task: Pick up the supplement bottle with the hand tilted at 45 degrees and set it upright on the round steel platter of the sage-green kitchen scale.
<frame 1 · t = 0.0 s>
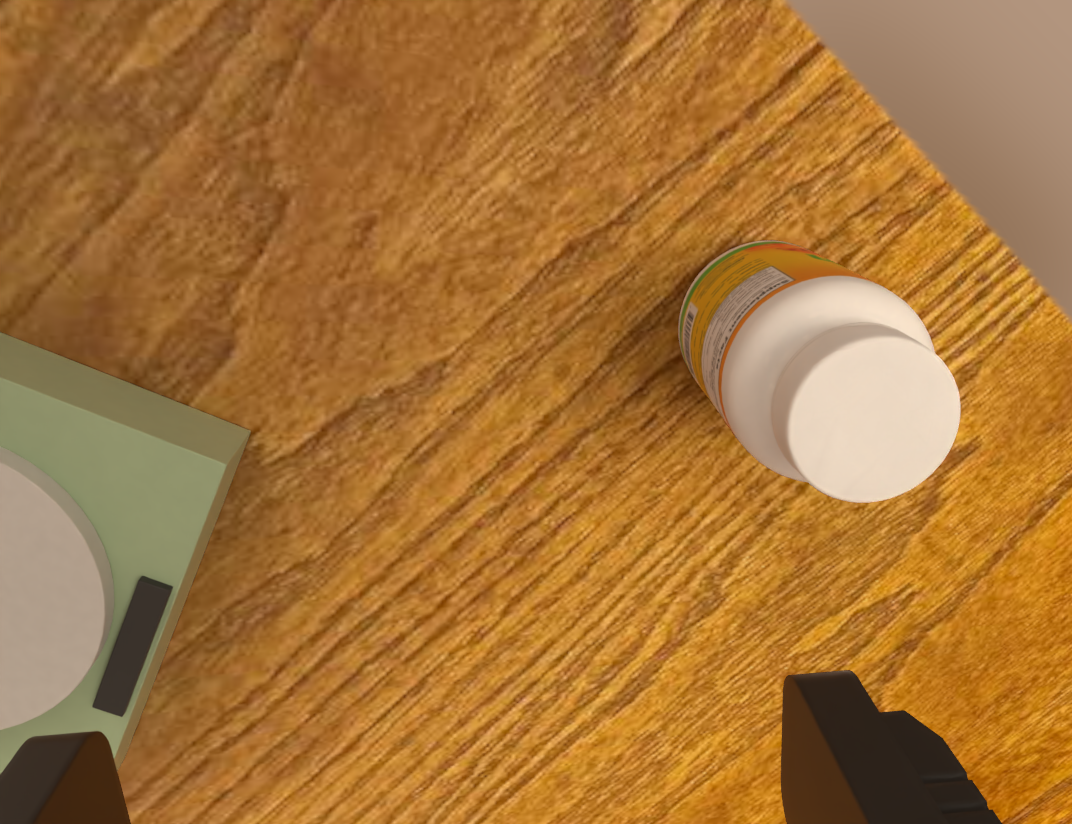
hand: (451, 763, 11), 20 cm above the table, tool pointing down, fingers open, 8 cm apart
supplement bottle: (756, 320, 30), on the table
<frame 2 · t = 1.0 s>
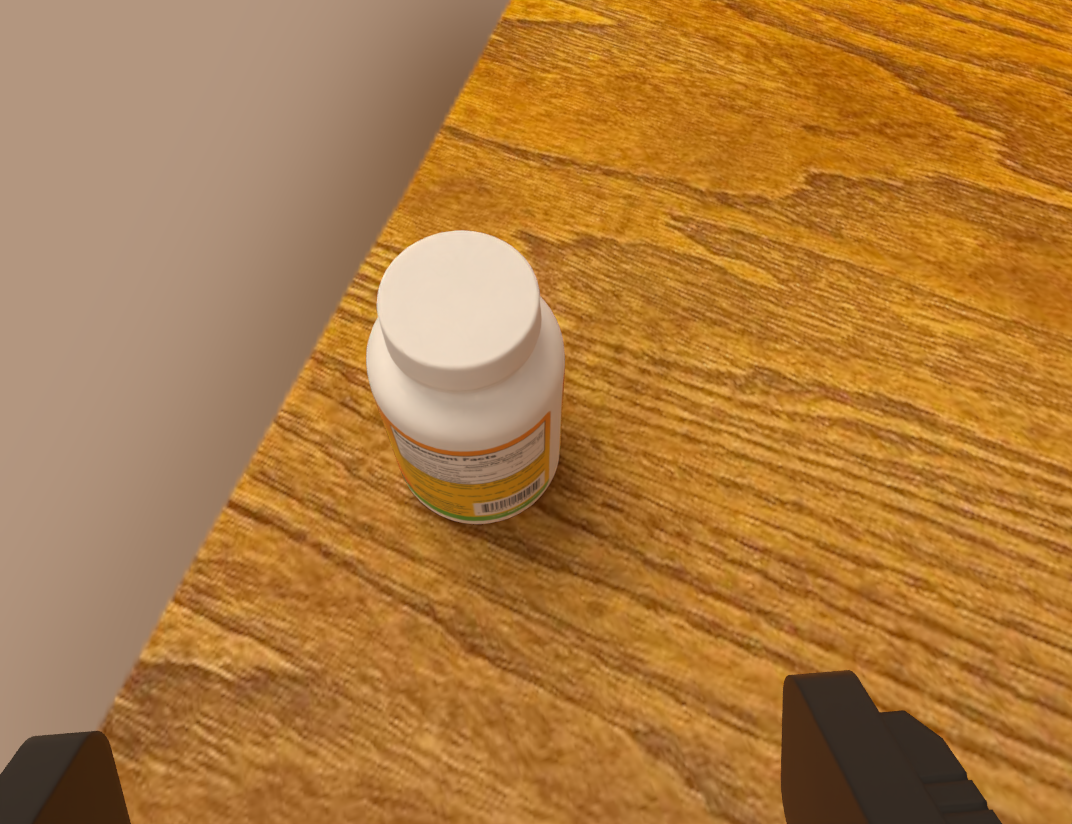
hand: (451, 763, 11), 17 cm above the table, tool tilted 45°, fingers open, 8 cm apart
supplement bottle: (480, 453, 31), on the table
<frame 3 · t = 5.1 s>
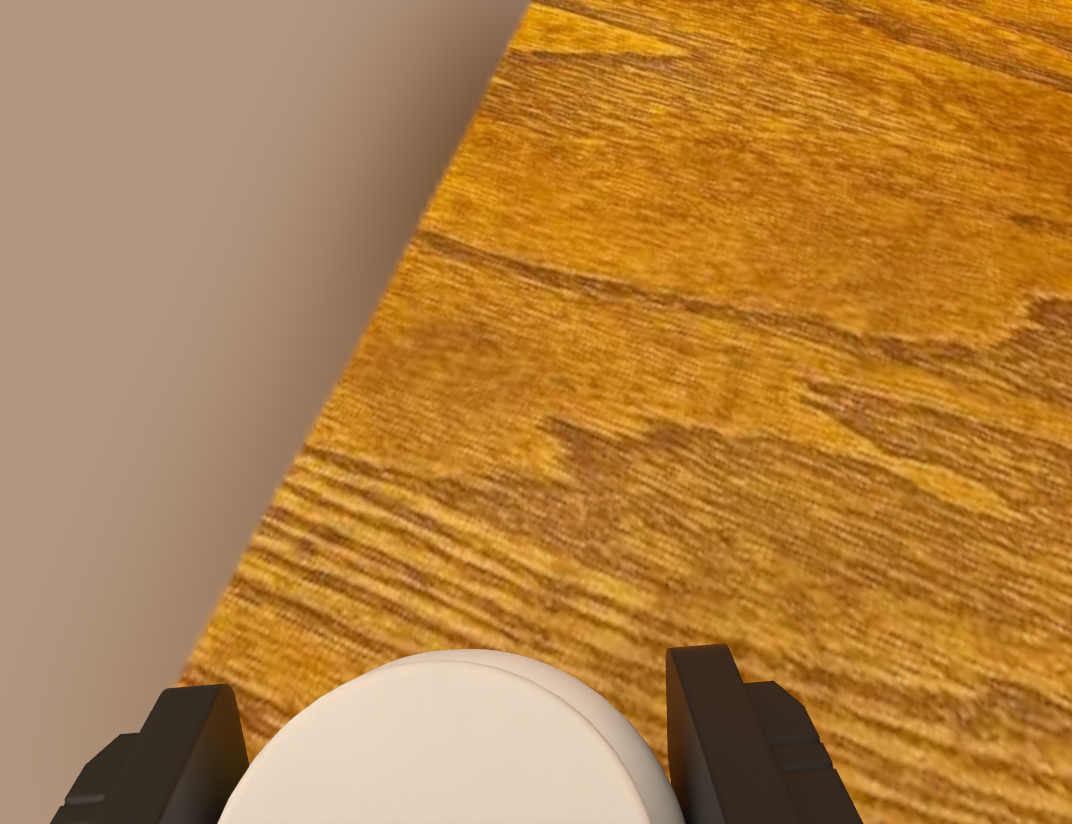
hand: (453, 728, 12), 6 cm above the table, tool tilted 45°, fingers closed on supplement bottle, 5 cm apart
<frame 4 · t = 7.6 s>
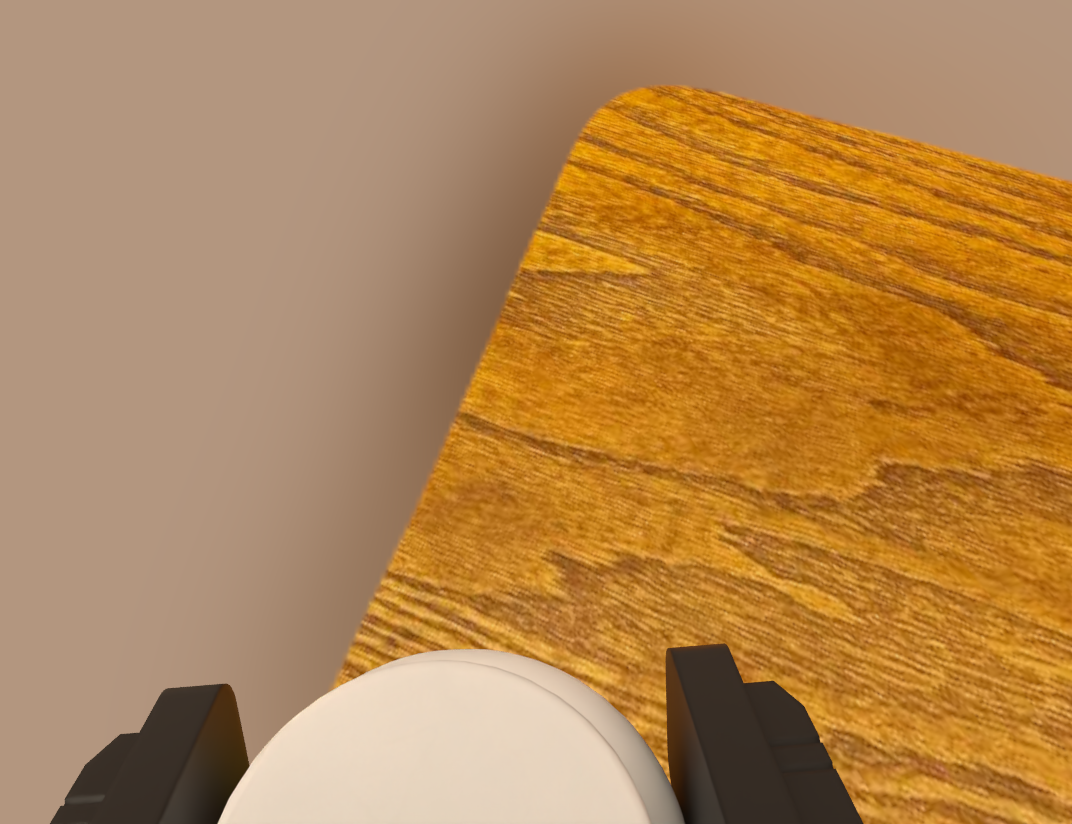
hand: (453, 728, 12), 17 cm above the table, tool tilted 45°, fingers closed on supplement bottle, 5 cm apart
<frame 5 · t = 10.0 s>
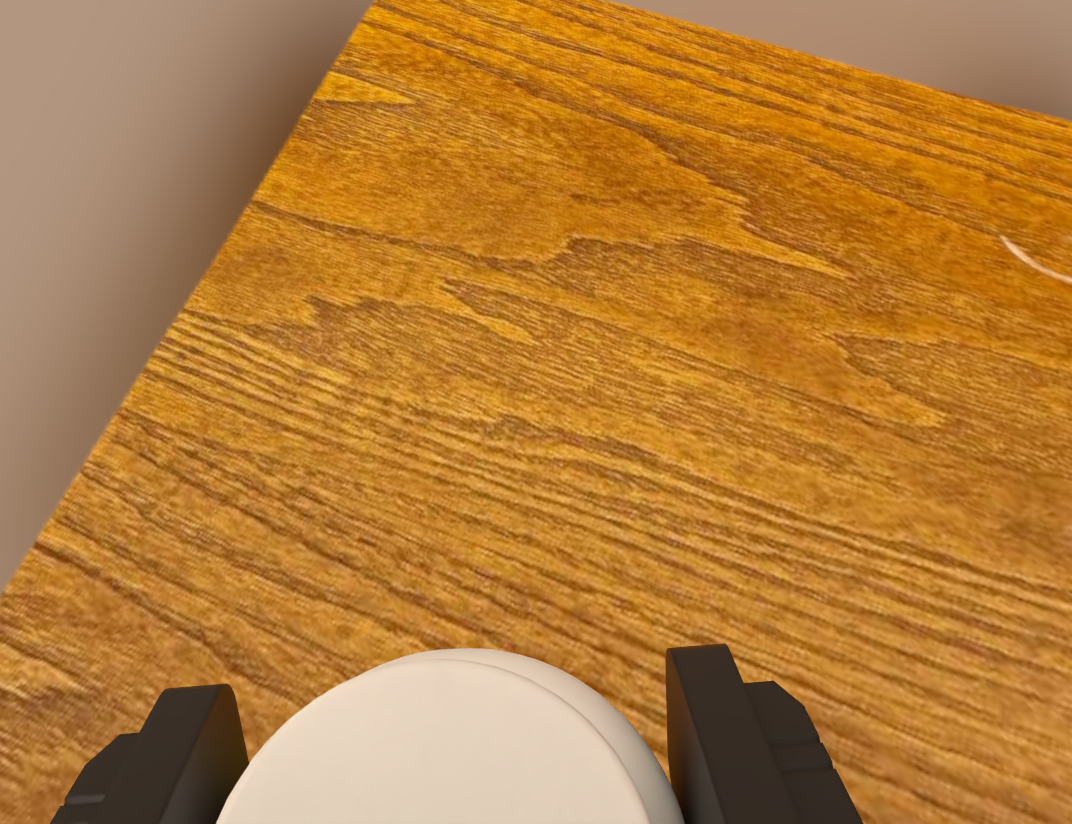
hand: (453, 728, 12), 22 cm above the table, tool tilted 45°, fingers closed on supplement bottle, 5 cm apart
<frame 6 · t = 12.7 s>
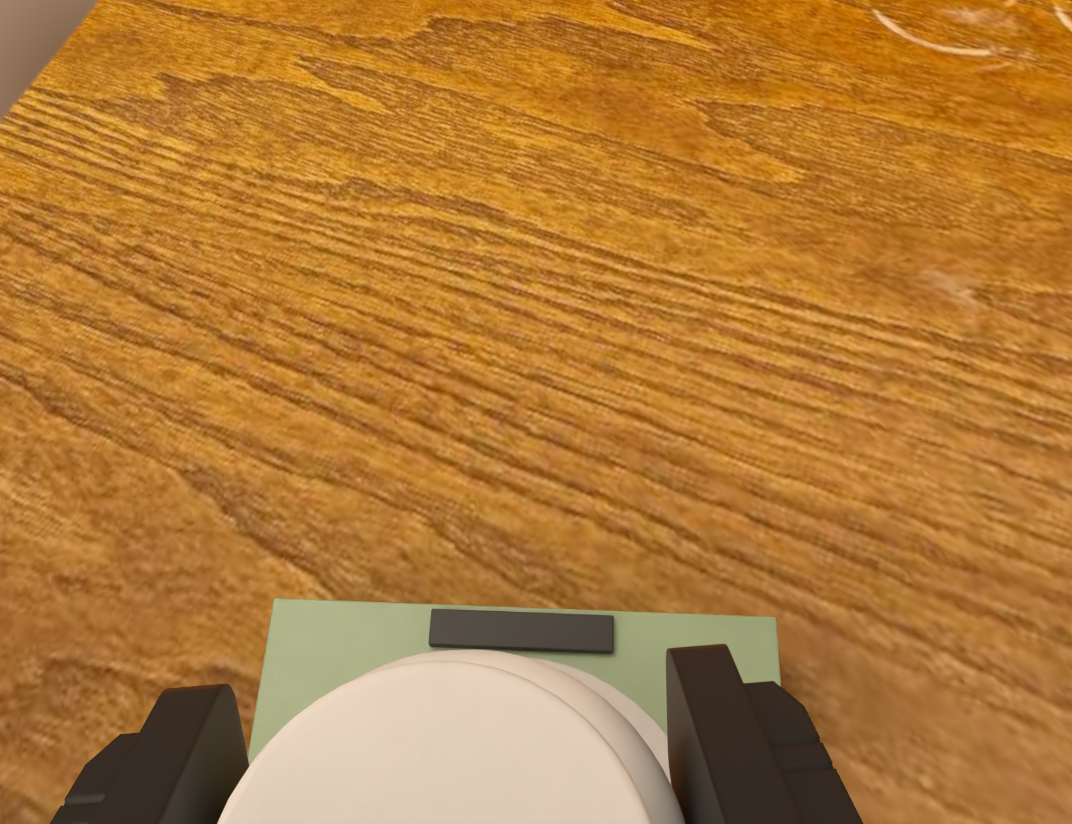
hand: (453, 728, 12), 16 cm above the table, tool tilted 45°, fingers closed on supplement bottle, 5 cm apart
when the fingers open (10 cm above the table, at t = 15.0 s): supplement bottle stays where it is, resting on scale.
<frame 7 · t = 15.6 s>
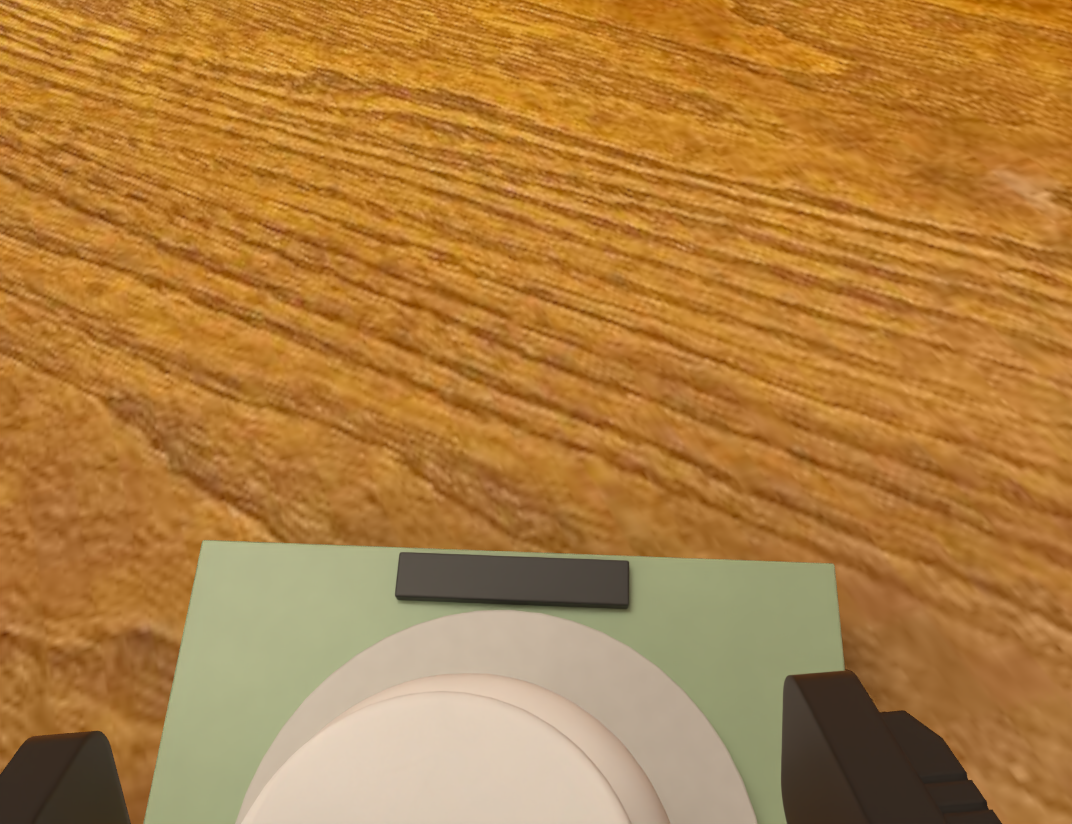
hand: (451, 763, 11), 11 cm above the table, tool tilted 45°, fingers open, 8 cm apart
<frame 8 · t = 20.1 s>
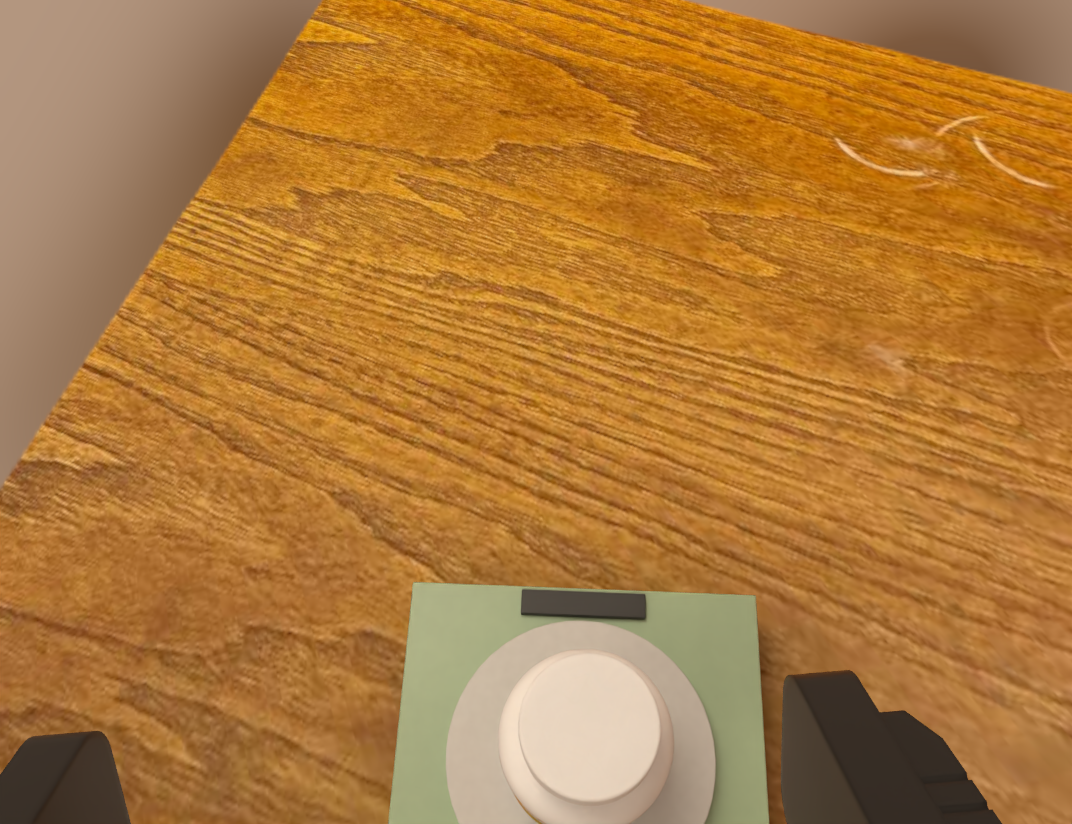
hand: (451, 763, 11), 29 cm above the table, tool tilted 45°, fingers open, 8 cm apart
supplement bottle: (579, 760, 35), point 4 cm above the table, touching scale
scale: (577, 764, 38), on the table
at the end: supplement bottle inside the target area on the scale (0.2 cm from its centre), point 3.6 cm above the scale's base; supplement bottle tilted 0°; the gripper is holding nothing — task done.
